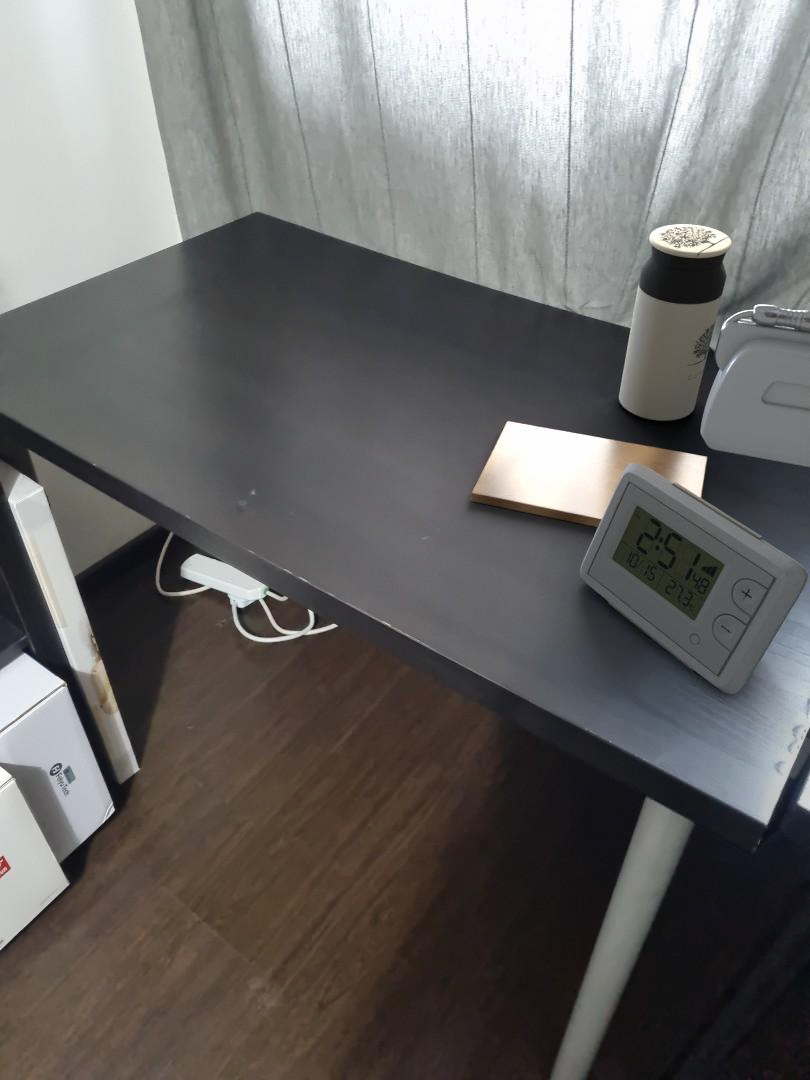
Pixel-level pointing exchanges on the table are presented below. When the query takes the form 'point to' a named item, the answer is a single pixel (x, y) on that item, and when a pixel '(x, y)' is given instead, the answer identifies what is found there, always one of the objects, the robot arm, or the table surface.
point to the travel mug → (673, 321)
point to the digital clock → (691, 577)
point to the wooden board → (571, 472)
